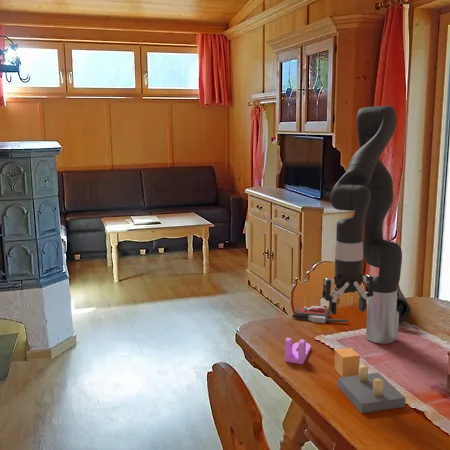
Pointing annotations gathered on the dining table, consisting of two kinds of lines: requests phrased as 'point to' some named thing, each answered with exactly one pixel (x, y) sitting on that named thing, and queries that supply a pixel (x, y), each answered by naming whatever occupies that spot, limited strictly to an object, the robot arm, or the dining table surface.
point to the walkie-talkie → (315, 314)
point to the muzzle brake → (402, 306)
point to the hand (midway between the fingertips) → (347, 312)
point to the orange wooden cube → (347, 362)
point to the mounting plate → (370, 391)
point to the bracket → (296, 351)
